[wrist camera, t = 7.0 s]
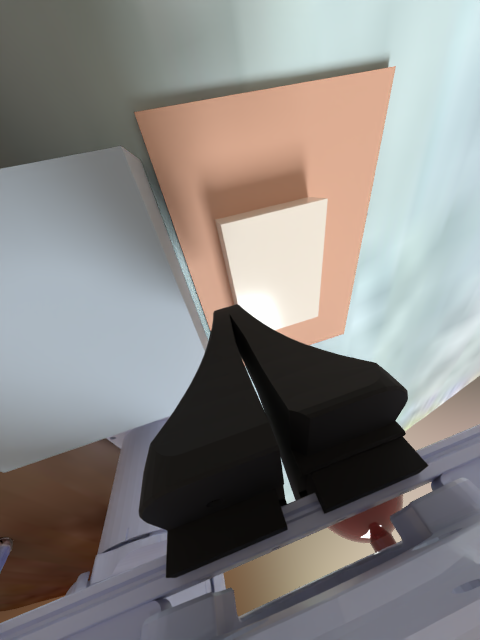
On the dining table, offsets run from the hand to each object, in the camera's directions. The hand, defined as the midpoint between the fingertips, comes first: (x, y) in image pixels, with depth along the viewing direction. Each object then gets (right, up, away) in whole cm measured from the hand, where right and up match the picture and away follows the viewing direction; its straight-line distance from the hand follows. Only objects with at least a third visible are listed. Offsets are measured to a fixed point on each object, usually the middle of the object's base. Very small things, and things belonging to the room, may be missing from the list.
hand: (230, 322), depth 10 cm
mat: (+4, +4, +4) cm, 7 cm away
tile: (+3, +3, +2) cm, 5 cm away
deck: (-11, 0, +3) cm, 11 cm away
